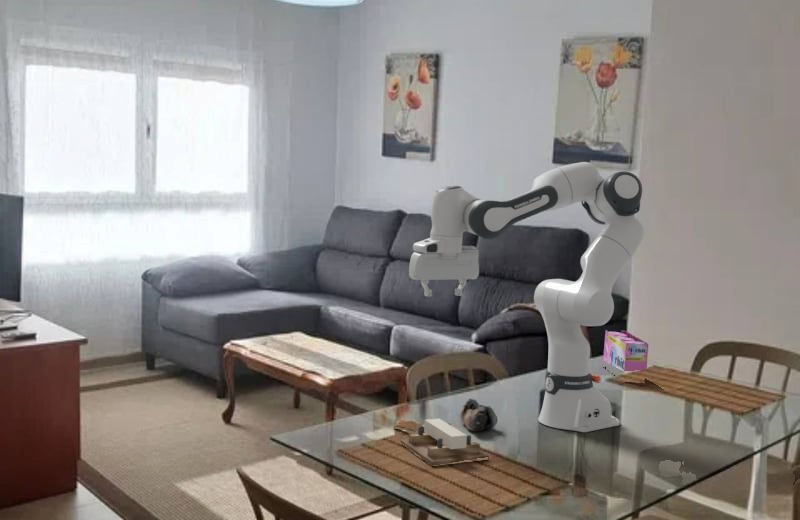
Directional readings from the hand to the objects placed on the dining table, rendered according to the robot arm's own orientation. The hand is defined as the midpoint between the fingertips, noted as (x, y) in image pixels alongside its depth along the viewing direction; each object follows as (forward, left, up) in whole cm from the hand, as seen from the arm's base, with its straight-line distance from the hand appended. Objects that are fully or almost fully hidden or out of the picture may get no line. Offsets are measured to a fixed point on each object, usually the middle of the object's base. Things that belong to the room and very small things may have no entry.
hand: (443, 295), depth 240 cm
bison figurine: (-3, +15, -33) cm, 37 cm away
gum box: (-85, -24, -33) cm, 94 cm away
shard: (+13, +12, -34) cm, 38 cm away
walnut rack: (+14, +30, -33) cm, 47 cm away
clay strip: (+14, +30, -30) cm, 45 cm away
